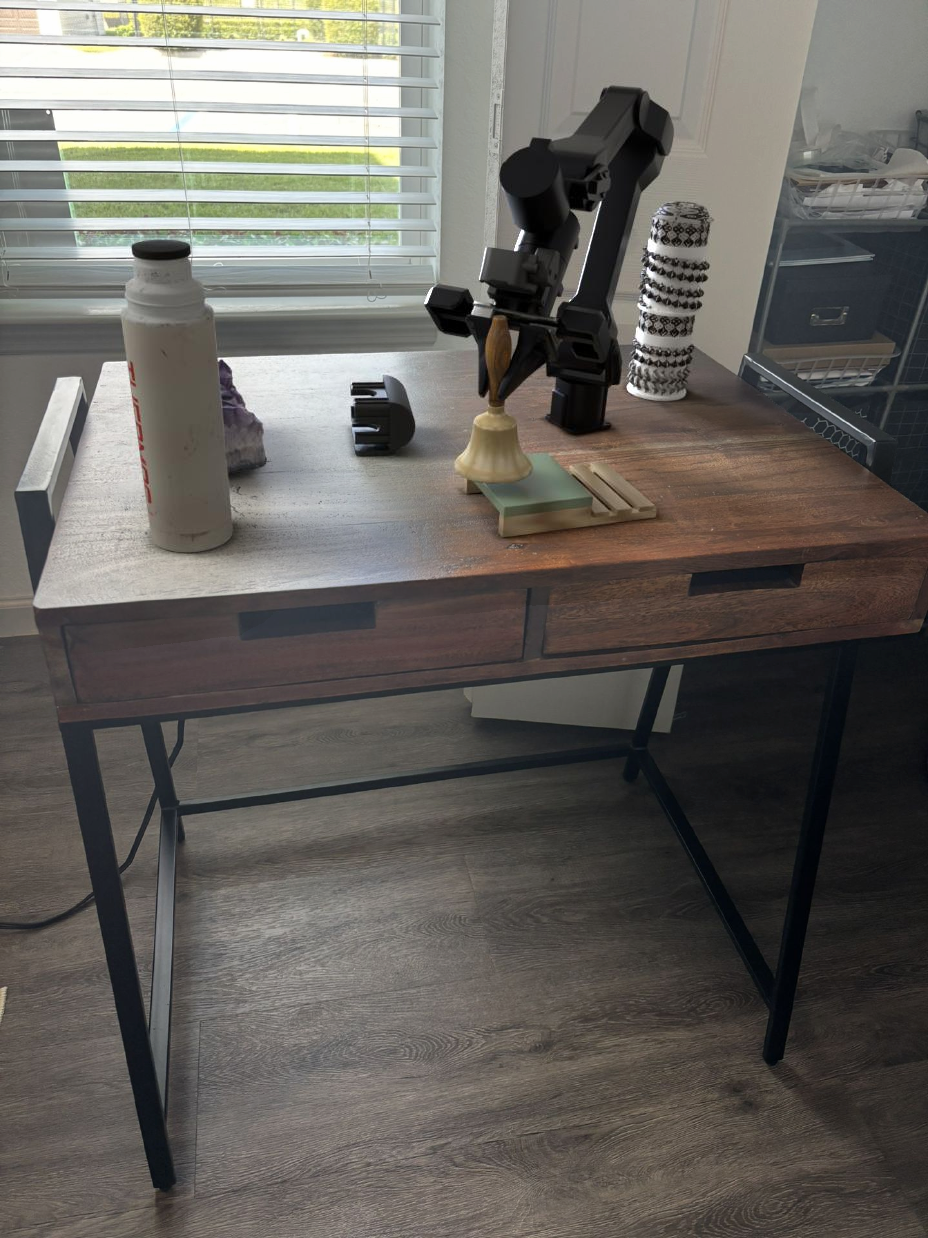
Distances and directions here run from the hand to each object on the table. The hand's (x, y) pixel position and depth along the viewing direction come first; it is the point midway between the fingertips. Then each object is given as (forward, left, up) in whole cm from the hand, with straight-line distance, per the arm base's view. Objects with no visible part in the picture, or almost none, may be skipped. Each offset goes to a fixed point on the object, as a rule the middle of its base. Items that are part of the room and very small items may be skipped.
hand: (490, 397), depth 100 cm
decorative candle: (-43, -24, -13) cm, 51 cm away
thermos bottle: (+29, -9, -13) cm, 33 cm away
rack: (-10, +1, -13) cm, 17 cm away
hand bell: (-1, -1, -8) cm, 8 cm away
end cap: (+1, -23, -13) cm, 26 cm away
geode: (+21, -28, -13) cm, 37 cm away
